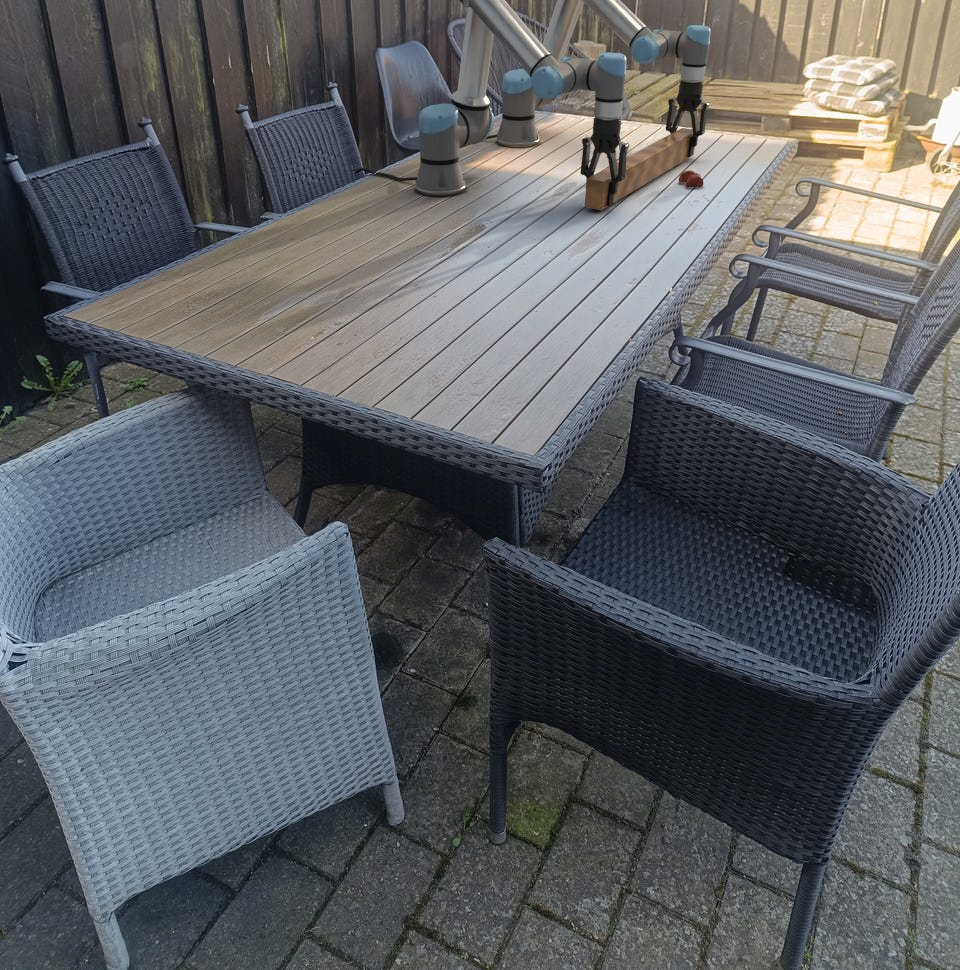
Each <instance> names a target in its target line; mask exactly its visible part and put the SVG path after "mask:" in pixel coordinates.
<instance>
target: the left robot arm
mask: <svg viewBox="0 0 960 970" xmlns="http://www.w3.org/2000/svg"><path fill="white" fill-rule="evenodd" d="M458 1H459V2H460V3H461V4H462V5H463V7H464V8H466V14H465V15H466V16H465V22H464V23H465V24H464V32H463V40H462V48H461V58H460V67H459V74H458V83H457V90H456V91H454V92H453V93H452V94H451V98H450V103H438V104H431V105H428V106H426V107H424V108H423V109H422V110H420V112H419V114H418V126H417V127H418V137H419V138H418V139H419V157H420V158H419V159H420V161H419V162H420V164H419V168H418V172H417V176H409V177H407V176H406V177H400V176H396V175H393V174H389V173H385V172H379V171H376V170H372V169H370V168H367V167H358V168H357V169H356V170H355V172H354V173H355V174H359V173H360V172H366V173H369V174H372V175H374V176H380V177H385V178H390V179H393V180H396V181H399V182H409V181H415V185H414V186H415V192H417V193H418V194H420V195H424V196H430V197H450V196H455V195H459V194H461V193H463V192H464V191H466V181H465V179H464V176H463V172H462V169H461V165H460V149H463V148H465V147H468V146H471V145H477V144H479V143H480V142H482V141H485V140H484V139H486V138H487V137H488V136H491V133H492V131H493V129H494V124H495V116H494V115H495V114H494V113H493V112H492V111H493V109H492V107H491V105H490V103H491V102H490V101H491V100H490V99H489V97H488V96H487V88H488V80H489V74H490V65H491V60H492V52H493V45H494V40H495V37H496V39H497V40H498V41H499V43H501V45H502V46H503V47H504V48H505V49H506V51H508V52H509V54H510V55H511V57H513V59H514V60H515V61H516V62H517V63H518V64H519V66H520V67H521V69H524V70H525V71H526V72H527V74H528V75H529V76H530V77H531V86H532V89H533V92H534V93H535V95H536V96H538V97H539V98H543V99H546V98H554V97H557V96H558V95H559V96H561V95H564V94H568V93H572V92H574V91H578V90H579V91H580V90H581V91H589V92H595V96H594V97H595V98H594V100H595V101H594V111H593V115H594V118H593V123H592V134H591V136H586V137H584V138H582V139H581V144H582V155H581V162H580V163H581V165H580V175H581V176H584V177H585V178H586V179H585V180H586V181H587V178H589V177H591V176H593V175H595V174H596V173H595V172H596V169H597V167H598V163H599V160H600V157H601V155H602V154H605V155H606V158H607V160H608V167H609V168H610V174H611V182H609V186H608V197H607V206H608V207H610V206H612V205H613V204H614V203H613V200H614V194H615V193H617V188H618V182H620V181H622V180H624V179H625V173H626V158H627V157H628V156H627V155H628V150H629V148H630V143H629V142H624V141H622V139H621V136H620V135H621V127H622V118H621V117H622V115H623V107H624V106H623V105H624V93H625V85H626V76H627V56H626V55H625V54H623V53H620V52H602V53H600V54H599V55H598V58H597V59H590V58H589V59H588V58H583V57H577V56H564V57H563V58H562V59H561V60H560V61H559V62H557V61H556V60H555V59H554V57H553V56H552V55H551V54H550V53H549V52H548V51H547V49H546V48H545V47H544V46H543V45H542V44H543V43H542V42H541V41H540V39H539V38H538V37H537V36H536V35H535V34H534V33H533V31H532V30H531V29H530V28H529V27H528V26H527V25H526V23H525V22H524V20H522V19H521V17H519V15H518V14H517V13H516V12H515V11H514V9H513V8H512V7H511V6H510V5H509V3H508V2H507V1H506V0H458ZM559 96H558V97H559ZM558 97H557V98H558ZM486 140H487V139H486ZM592 144H593V147H594V149H593V152H592V156H591V148H592ZM617 148H618V150H619V153H618V161H617V150H616V149H617ZM590 156H591V160H590ZM617 162H619V165H618V168H617ZM376 172H378V173H376ZM374 173H376V174H374ZM586 181H585V182H586Z"/></svg>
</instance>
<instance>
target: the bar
mask: <svg viewBox="0 0 960 970" xmlns="http://www.w3.org/2000/svg"><path fill="white" fill-rule="evenodd" d="M691 136H693V130H692V128H687V127H686V128H685V127H681V128H679V129H677V131H676V132H674V133H672V134H670V133H669V134H668V135H666V136H664V137H662V138H661V139H658V140H657V141H654V142H653V143H651V144H649V145H647V146H646V147H644V148H642V149H640V150H638V151H636V152H634V153H632V154H630V155H629V156H627V158H626V173H625V179H624V180H622V181H620V182H618V188H617V193H615V194H614V200H613V204H615V203H617V202H618V201H619V200H621V199H623V198H625V197H626V196H629V194H631V193H633V192H634V191H636V190H638V189H639V188H641V187H642V186H645V185H647V184H648V183H649V182H651V181H653V180H655V179H656V178H658V177H660V176H661V175H663V174H665V173H666V172H668V171H669V170H671V169H673V168H674V167H676V166H678V165H679V164H681V163H683V162H685V161H686V160H687V159H689V158H690V157H688V151H689V144H690V137H691ZM695 149H696V146H695V147H694V150H693V156H694V155H695ZM618 165H619V161H617V168H618ZM594 174H595V175H593V176H591V177H589V178H587V181H585V194H584V208H586V209H587V208H588V209H592V210H597V211H603V210H605V209H606V208H608V207H609V206H607V197H608V186H609V182H611V174H610V168H609V166H607V167H606V168H604V169H602V170H600V171H598V172H596V173H594Z"/></svg>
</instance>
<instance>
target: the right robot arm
mask: <svg viewBox="0 0 960 970" xmlns="http://www.w3.org/2000/svg"><path fill="white" fill-rule="evenodd" d="M584 4H585V5H586V6H587V7H588V8H589V9H590V10H591V11H592V12H593V13H594V14H595V15H596V16H597V17H598V18H599V19H600V20H601V21H602V22H603V23H604V24H605V25H606V26H608V28H609V29H610V30H611V31H612V32H613V33H614V34H615V35H616V36H617V37H618V38H619V39H620V40H622V42H623V43H625V45H627V46H628V47H629V48H630V50H631V51H630V52H631V55H632V59H633V60H634V61H635V62H636V63H638V64H641V65H643V64H650V63H653V62H655V61H659V60H663V59H665V58H675V59H682V63H681V70H680V81H679V86H678V93H677V96H676V97H671V98H669V99H668V100H667V103H668V110H667V117H666V123H665V131H667V132H669V135H670V134H672V133H674V132H676V131H677V130H678V128H679V125H680V124H681V120H682V118H683V115H684V113H685V112H688V113H689V114H690V119H691V129H692V130H693V136H691V137H690V144H689V151H688V157H689V158H691V157H693V156H694V155H693V150H694V147H695V148H696V147H697V146H698V141H699V137H700V136H703V135H704V134H705V133H706V126H707V125H706V123H707V116H708V115H707V114H708V110H709V107H710V105H711V103H710V102H706V101H705V100H703V97H702V95H703V91H704V90H703V89H704V80H705V75H706V68H707V67H706V66H707V61H708V55H709V50H710V49H709V48H710V44H711V42H710V41H711V32H712V31H711V28H710V27H709V26H707V25H702V24H700V25H699V24H691V25H688V26H687V28H686V30H685V31H678V30H669V29H665V28H664V29H663V28H662V29H653V30H651V29H650V28H649V27H647V26H646V24H645V23H644V22H643V21H642V20H641V19H639V17H638V16H637V15H636V14H635V13H634V12H633V11H632V10H630V9H629V7H628V6H626V4H625V3H624V2H623V1H622V0H556V4H555V7H554V10H553V13H552V16H551V18H550V22H549V24H548V27H547V29H546V30H547V31H546V33H545V36H544V39H543V41H542V43H541V44H542V45H543V46H544V47H545V48H546V49H547V51H548V52H549V53H550V54H551V55H552V56H553V57H554V59H555V60H556V61H557V62H559V61H560V60H561V59H562V58H563V57H565V55H566V53H567V50H568V47H569V45H570V41H571V39H572V36H573V33H574V31H575V28H576V25H577V22H578V21H579V20H578V19H579V17H580V14H581V12H582V9H583V6H584ZM501 89H502V91H501V92H502V93H501V94H502V96H501V102H502V103H501V122H500V124H499V128H498V132H497V134H490V135H489V136H488V137H487V138H486V139H484V140H483V141H486V140H490V139H495V138H496V144H498V145H499V146H503V147H508V148H530V147H535V146H537V145H539V143H540V133H539V132H538V128H537V124H536V119H535V117H536V108H537V107H538V108H539V107H541V106H544V105H545V106H546V105H549V104H550V103H552V102H554V101H556V99H558V98H559V97H560V95H558V96H557V97H554V98H546V99H543V98H539V97H538V96H536V95H535V93H534V92H533V89H532V86H531V77H530V76H529V75H528V74H527V72H526V71H525V70H524V69H523V68H518V69H512V70H509V71H507V72H506V73H504V75H503V77H502V84H501ZM677 104H678V110H677V114H676V116H675V118H674V115H675V111H676V105H677ZM699 107H700V116H699V119H698V108H699ZM694 151H695V150H694Z"/></svg>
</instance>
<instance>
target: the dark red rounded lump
mask: <svg viewBox="0 0 960 970" xmlns="http://www.w3.org/2000/svg"><path fill="white" fill-rule="evenodd" d="M682 183H685V188H686V189H689V188H691V189H692V188H700V187H701V188H702V187H703V186H704V179H703V178H702V175H701V174H700V173H698V172H695V171H694V170H690V169H689V170H684V171H682V172H681V173H680V174H679V177H678V184H682Z"/></svg>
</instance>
